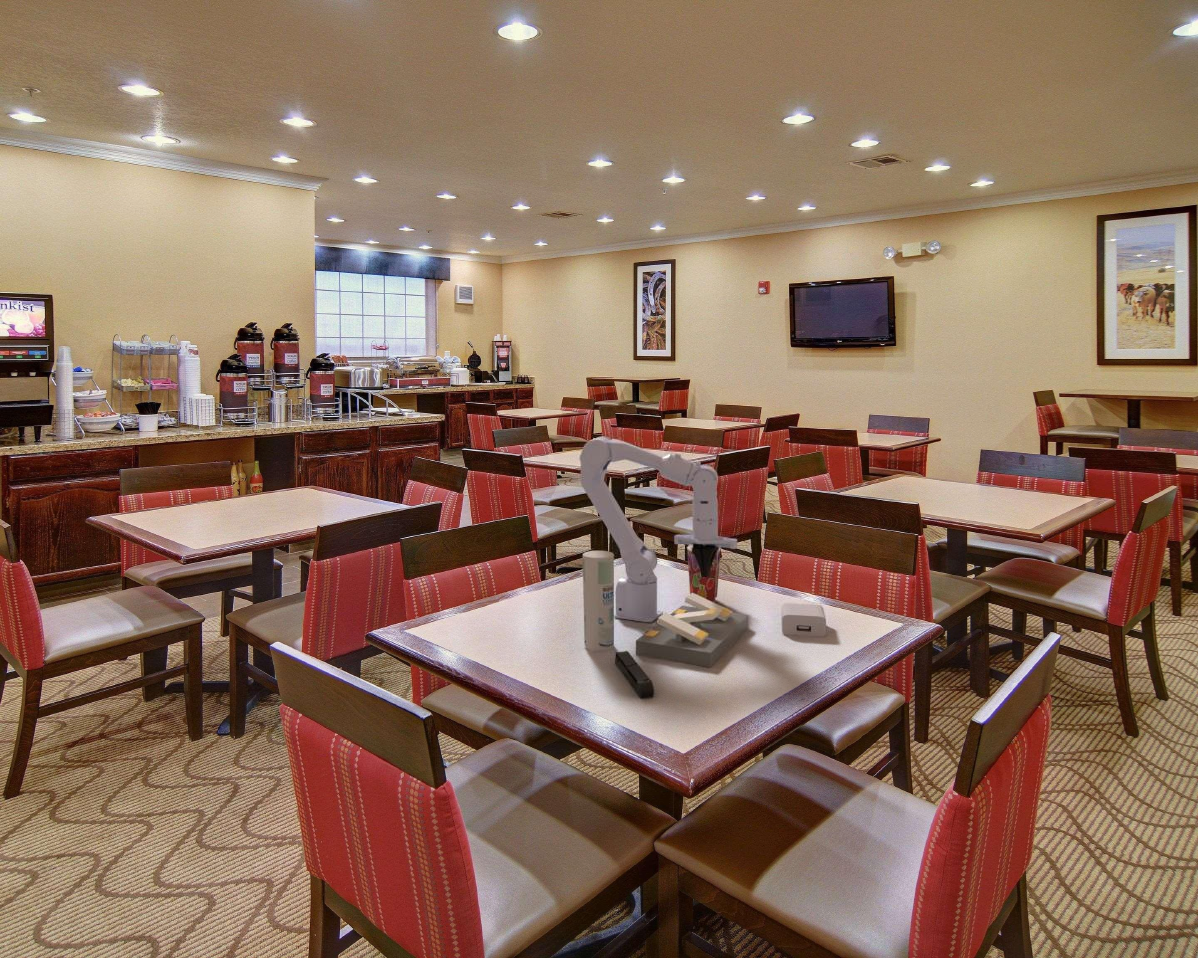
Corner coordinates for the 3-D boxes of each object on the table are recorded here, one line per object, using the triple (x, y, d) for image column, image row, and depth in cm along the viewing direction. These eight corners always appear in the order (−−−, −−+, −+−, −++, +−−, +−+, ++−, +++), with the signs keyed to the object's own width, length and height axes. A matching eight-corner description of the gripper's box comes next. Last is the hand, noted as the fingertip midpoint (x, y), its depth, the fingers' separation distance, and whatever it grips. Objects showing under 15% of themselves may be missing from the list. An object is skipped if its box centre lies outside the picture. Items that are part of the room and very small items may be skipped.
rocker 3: (684, 601, 169) (686, 596, 169) (690, 597, 173) (692, 592, 172) (725, 621, 165) (727, 616, 165) (730, 616, 169) (732, 611, 169)
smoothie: (725, 599, 192) (726, 521, 190) (711, 607, 185) (712, 527, 183) (695, 594, 197) (696, 518, 194) (681, 602, 190) (681, 524, 187)
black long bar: (654, 699, 134) (654, 683, 134) (640, 701, 134) (640, 685, 133) (626, 662, 151) (626, 648, 151) (614, 664, 151) (613, 649, 150)
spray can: (604, 653, 156) (603, 559, 153) (577, 648, 159) (576, 555, 156) (620, 644, 161) (619, 552, 158) (594, 638, 164) (593, 549, 162)
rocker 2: (670, 624, 163) (668, 618, 163) (677, 619, 166) (675, 613, 166) (713, 619, 158) (711, 613, 158) (719, 613, 162) (718, 608, 162)
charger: (821, 616, 179) (825, 637, 164) (780, 614, 181) (781, 635, 166) (821, 597, 178) (826, 616, 163) (781, 595, 180) (782, 614, 165)
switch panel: (635, 654, 155) (635, 634, 154) (681, 617, 178) (682, 600, 177) (710, 667, 148) (710, 646, 147) (748, 627, 171) (748, 609, 170)
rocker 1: (656, 622, 155) (658, 617, 155) (663, 617, 159) (665, 611, 158) (700, 644, 151) (702, 639, 151) (706, 638, 155) (708, 633, 155)
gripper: (669, 519, 173) (669, 577, 175) (730, 523, 166) (730, 583, 168) (680, 514, 179) (681, 570, 181) (739, 518, 172) (739, 576, 174)
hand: (705, 576), depth 175 cm, fingers closed
